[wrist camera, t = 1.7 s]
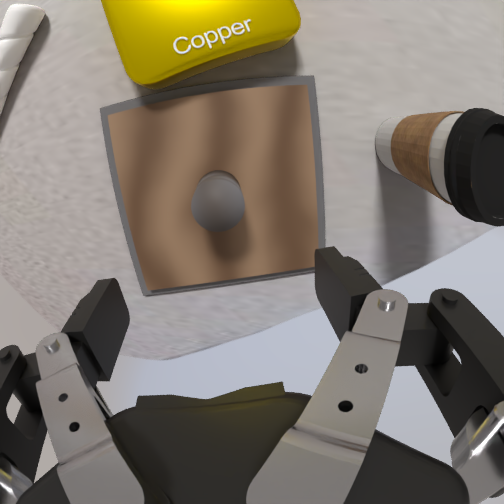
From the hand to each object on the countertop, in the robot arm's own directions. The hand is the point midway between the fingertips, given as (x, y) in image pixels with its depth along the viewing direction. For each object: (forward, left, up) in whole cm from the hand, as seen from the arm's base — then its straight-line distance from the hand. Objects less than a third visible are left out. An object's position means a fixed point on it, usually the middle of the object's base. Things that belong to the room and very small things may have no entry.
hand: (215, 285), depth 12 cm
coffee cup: (-19, -3, -18) cm, 26 cm away
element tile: (0, -19, -18) cm, 26 cm away
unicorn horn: (+23, -16, -18) cm, 33 cm away
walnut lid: (0, 0, -17) cm, 17 cm away
